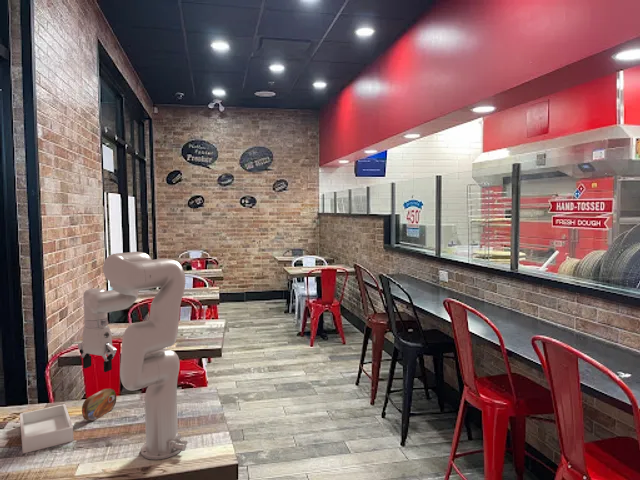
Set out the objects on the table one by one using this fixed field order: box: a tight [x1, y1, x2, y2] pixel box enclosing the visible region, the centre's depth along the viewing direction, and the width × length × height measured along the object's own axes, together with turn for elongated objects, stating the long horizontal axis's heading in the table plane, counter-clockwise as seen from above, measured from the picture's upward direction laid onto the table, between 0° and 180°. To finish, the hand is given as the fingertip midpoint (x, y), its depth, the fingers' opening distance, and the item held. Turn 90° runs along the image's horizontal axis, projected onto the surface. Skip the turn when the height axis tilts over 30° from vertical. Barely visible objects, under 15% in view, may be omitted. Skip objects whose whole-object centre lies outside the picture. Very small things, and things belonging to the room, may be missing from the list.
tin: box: [81, 388, 117, 422], centre depth 171 cm, size 15×3×8 cm, turn 164°
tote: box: [19, 403, 75, 454], centre depth 157 cm, size 22×14×4 cm, turn 34°
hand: (97, 369), depth 170 cm, fingers open, 9 cm apart
